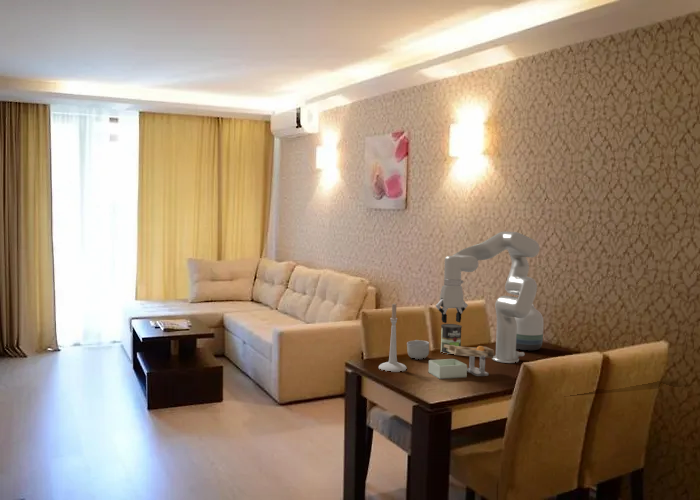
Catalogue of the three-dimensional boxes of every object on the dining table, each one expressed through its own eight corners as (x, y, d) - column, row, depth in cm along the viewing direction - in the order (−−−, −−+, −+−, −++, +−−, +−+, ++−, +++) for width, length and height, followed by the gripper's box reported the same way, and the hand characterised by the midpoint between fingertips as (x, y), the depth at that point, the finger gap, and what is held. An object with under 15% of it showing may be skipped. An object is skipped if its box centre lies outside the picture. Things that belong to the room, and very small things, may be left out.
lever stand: (476, 369, 269) (476, 349, 269) (489, 375, 259) (489, 355, 258) (464, 370, 268) (465, 350, 267) (477, 376, 257) (477, 356, 256)
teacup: (427, 361, 282) (428, 345, 282) (405, 360, 285) (405, 343, 284) (429, 355, 296) (430, 339, 296) (408, 353, 298) (408, 338, 298)
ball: (480, 353, 265) (482, 345, 265) (484, 355, 262) (486, 347, 262) (474, 351, 264) (476, 344, 264) (478, 353, 261) (480, 345, 261)
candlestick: (411, 371, 264) (412, 304, 262) (384, 372, 260) (385, 305, 259) (400, 364, 276) (402, 300, 274) (374, 365, 272) (376, 301, 271)
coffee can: (464, 354, 298) (465, 327, 298) (445, 355, 296) (446, 327, 295) (455, 350, 308) (456, 323, 308) (437, 350, 306) (438, 323, 305)
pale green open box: (454, 370, 266) (455, 358, 266) (466, 377, 255) (467, 364, 255) (428, 372, 262) (428, 360, 262) (439, 379, 252) (439, 366, 251)
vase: (504, 345, 322) (506, 302, 321) (534, 345, 324) (536, 302, 322) (516, 352, 305) (518, 306, 304) (547, 352, 307) (549, 306, 306)
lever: (476, 350, 275) (477, 343, 275) (493, 357, 261) (494, 350, 261) (439, 347, 270) (440, 339, 270) (455, 354, 255) (456, 346, 255)
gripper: (465, 281, 274) (464, 320, 275) (431, 282, 268) (430, 321, 269) (473, 283, 266) (472, 323, 267) (438, 284, 261) (437, 324, 262)
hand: (451, 321), depth 268 cm, fingers open, 6 cm apart
